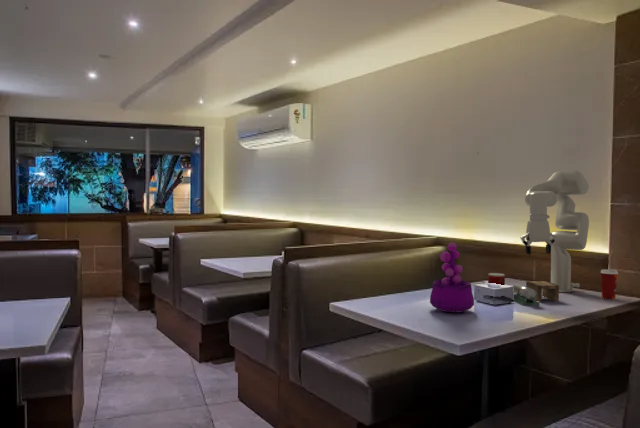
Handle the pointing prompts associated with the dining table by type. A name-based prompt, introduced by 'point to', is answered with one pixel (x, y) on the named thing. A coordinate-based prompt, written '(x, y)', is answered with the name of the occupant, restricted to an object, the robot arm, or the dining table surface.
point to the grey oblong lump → (525, 292)
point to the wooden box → (544, 289)
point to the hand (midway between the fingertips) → (538, 253)
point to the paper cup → (608, 283)
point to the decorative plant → (451, 286)
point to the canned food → (496, 278)
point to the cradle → (524, 300)
